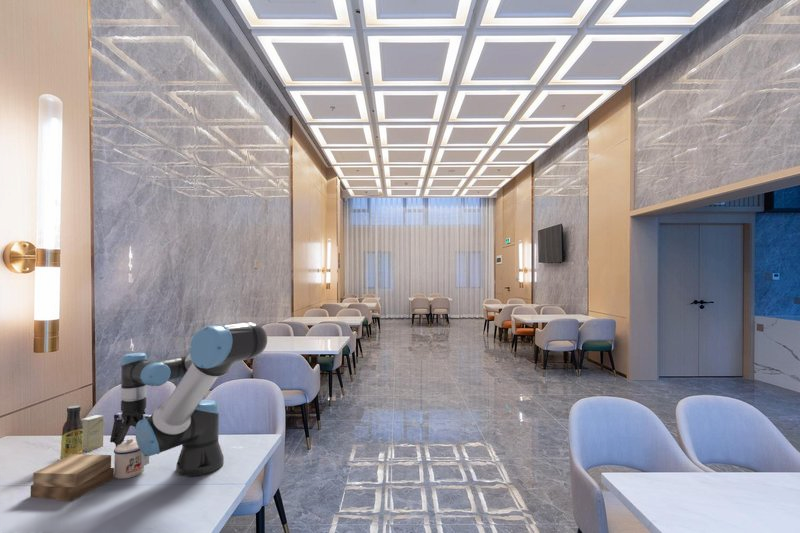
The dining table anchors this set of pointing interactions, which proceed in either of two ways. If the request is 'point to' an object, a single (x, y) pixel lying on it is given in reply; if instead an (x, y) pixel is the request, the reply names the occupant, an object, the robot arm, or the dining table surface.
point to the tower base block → (72, 488)
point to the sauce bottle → (72, 433)
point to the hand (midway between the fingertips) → (132, 463)
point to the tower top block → (72, 470)
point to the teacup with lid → (127, 460)
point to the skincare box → (92, 432)
